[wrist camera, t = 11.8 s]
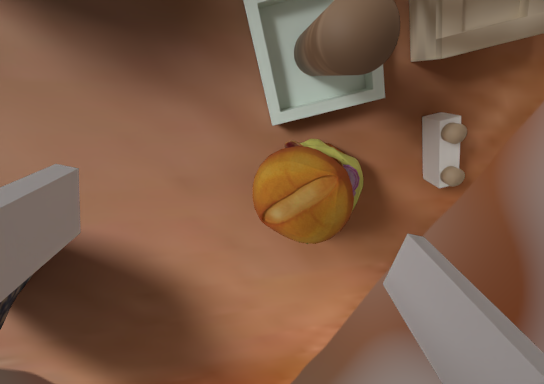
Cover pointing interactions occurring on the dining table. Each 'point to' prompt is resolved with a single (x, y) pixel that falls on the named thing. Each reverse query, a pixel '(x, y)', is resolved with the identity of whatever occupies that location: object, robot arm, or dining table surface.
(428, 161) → the rail
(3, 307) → the jug
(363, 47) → the dowel
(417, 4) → the jig block
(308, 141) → the cheeseburger
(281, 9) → the tray
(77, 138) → the dining table surface
